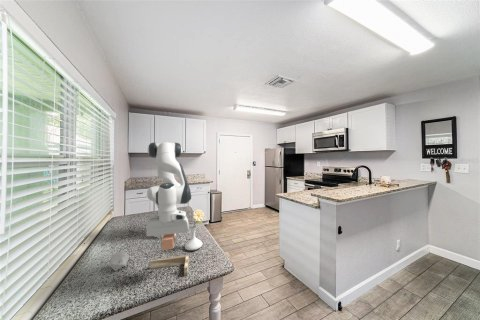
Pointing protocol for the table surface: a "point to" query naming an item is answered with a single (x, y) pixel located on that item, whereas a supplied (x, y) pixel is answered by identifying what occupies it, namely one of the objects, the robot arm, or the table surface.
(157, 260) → the wooden corner bracket
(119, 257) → the die
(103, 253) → the table surface
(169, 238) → the block
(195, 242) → the flower in vase
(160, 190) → the robot arm
